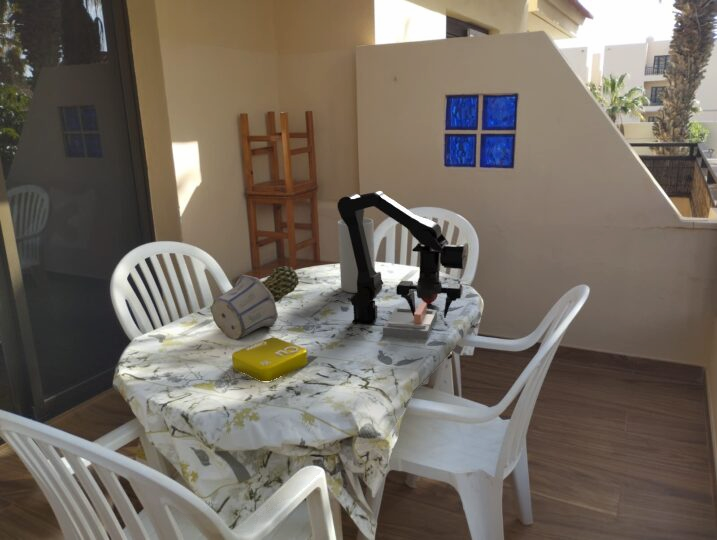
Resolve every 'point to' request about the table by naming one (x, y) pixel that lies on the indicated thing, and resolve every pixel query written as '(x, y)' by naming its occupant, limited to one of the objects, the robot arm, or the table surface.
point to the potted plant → (252, 302)
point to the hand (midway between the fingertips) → (429, 316)
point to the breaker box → (409, 324)
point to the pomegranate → (429, 299)
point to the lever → (420, 313)
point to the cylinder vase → (352, 254)
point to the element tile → (269, 359)
